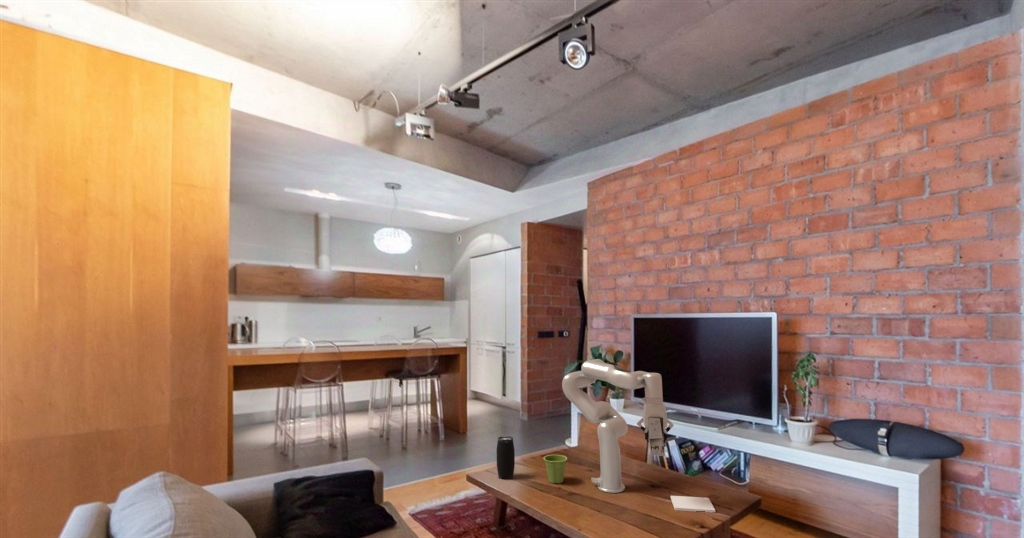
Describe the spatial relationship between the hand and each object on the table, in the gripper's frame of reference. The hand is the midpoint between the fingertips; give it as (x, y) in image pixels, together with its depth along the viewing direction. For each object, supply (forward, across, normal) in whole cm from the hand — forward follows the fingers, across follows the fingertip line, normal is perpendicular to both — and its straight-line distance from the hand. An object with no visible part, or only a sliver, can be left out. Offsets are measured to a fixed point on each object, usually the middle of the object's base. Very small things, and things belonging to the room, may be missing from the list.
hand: (655, 441), depth 204 cm
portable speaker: (+26, -73, +19) cm, 80 cm away
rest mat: (+26, +14, -2) cm, 29 cm away
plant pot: (+26, -47, +17) cm, 57 cm away
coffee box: (+5, 0, 0) cm, 5 cm away
